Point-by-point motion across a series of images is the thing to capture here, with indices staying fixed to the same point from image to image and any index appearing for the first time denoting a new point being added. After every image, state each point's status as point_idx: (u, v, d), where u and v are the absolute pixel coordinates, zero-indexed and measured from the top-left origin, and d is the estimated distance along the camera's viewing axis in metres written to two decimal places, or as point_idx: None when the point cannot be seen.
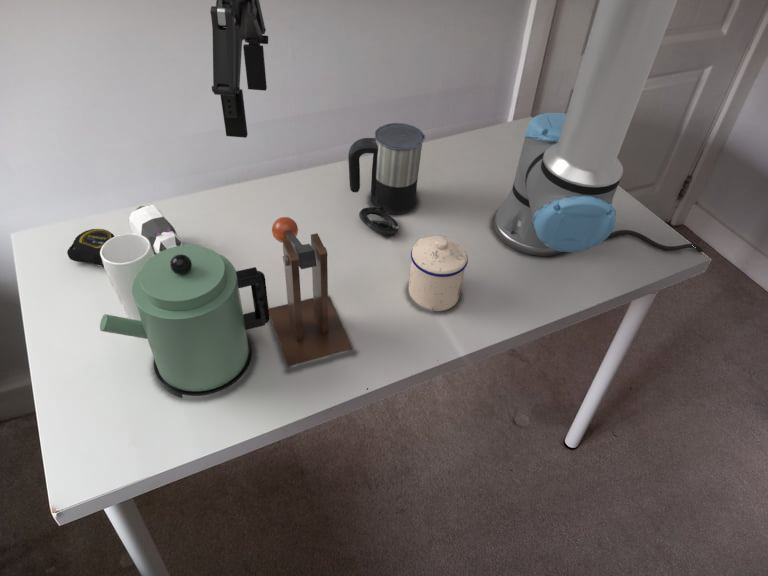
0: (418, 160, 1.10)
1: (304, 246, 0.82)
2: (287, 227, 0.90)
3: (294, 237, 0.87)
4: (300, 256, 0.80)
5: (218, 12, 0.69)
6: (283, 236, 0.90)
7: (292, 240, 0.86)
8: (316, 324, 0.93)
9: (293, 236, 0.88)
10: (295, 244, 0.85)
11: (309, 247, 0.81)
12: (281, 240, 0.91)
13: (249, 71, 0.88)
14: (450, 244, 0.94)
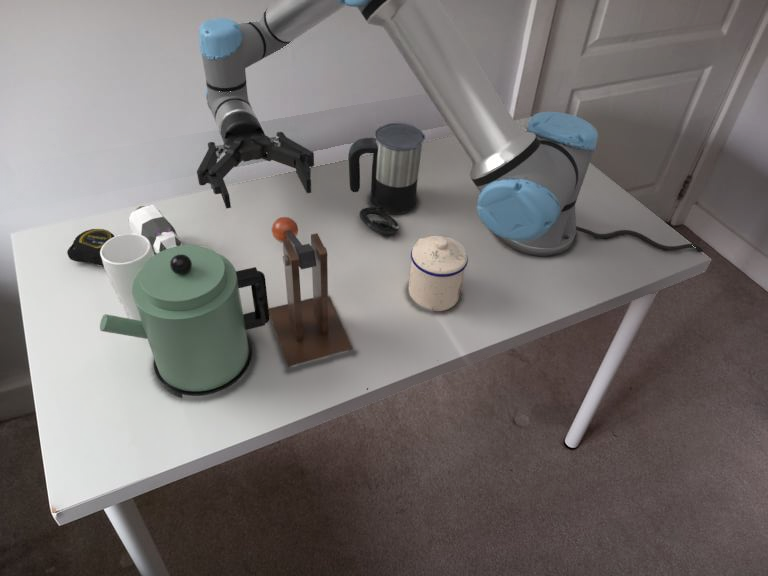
0: (418, 160, 1.10)
1: (304, 246, 0.82)
2: (287, 227, 0.90)
3: (294, 237, 0.87)
4: (300, 256, 0.80)
5: None
6: (283, 236, 0.90)
7: (292, 240, 0.86)
8: (316, 324, 0.93)
9: (293, 236, 0.88)
10: (295, 244, 0.85)
11: (309, 247, 0.81)
12: (281, 240, 0.91)
13: (302, 181, 1.02)
14: (450, 244, 0.94)
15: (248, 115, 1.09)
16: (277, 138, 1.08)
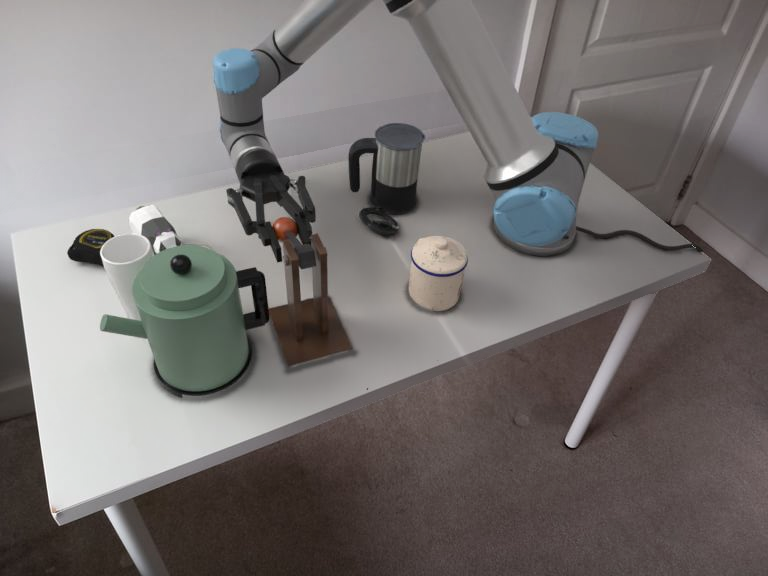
0: (418, 160, 1.10)
1: (304, 246, 0.82)
2: (287, 227, 0.90)
3: (294, 237, 0.87)
4: (300, 256, 0.80)
5: None
6: (283, 236, 0.90)
7: (292, 240, 0.86)
8: (316, 324, 0.93)
9: (293, 236, 0.88)
10: (295, 244, 0.85)
11: (309, 247, 0.81)
12: (281, 240, 0.91)
13: (302, 241, 0.91)
14: (450, 244, 0.94)
15: (266, 153, 1.01)
16: (295, 182, 0.99)
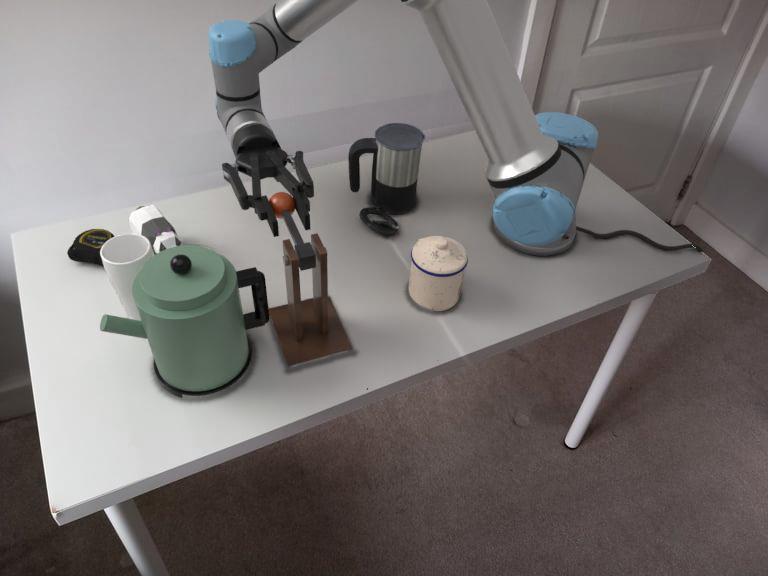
0: (418, 160, 1.10)
1: (305, 246, 0.81)
2: (285, 207, 0.88)
3: (293, 223, 0.86)
4: (301, 260, 0.80)
5: (223, 174, 0.94)
6: (280, 215, 0.88)
7: (291, 229, 0.85)
8: (316, 324, 0.93)
9: (292, 221, 0.86)
10: (294, 236, 0.84)
11: (310, 249, 0.81)
12: (278, 217, 0.89)
13: (299, 216, 0.89)
14: (450, 244, 0.94)
15: (263, 127, 0.98)
16: (293, 157, 0.97)
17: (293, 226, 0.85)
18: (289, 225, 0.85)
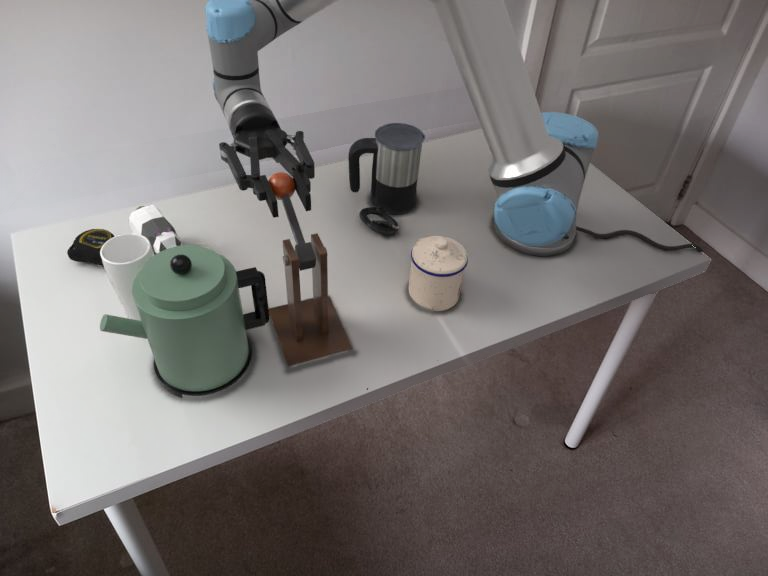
0: (418, 160, 1.10)
1: (306, 247, 0.81)
2: (285, 192, 0.85)
3: (293, 214, 0.84)
4: (301, 263, 0.80)
5: None
6: (280, 198, 0.86)
7: (291, 221, 0.83)
8: (316, 324, 0.93)
9: (292, 211, 0.84)
10: (295, 231, 0.83)
11: (311, 251, 0.81)
12: None
13: (300, 196, 0.85)
14: (450, 244, 0.94)
15: (262, 107, 0.95)
16: (293, 137, 0.93)
17: (293, 217, 0.84)
18: (289, 216, 0.84)
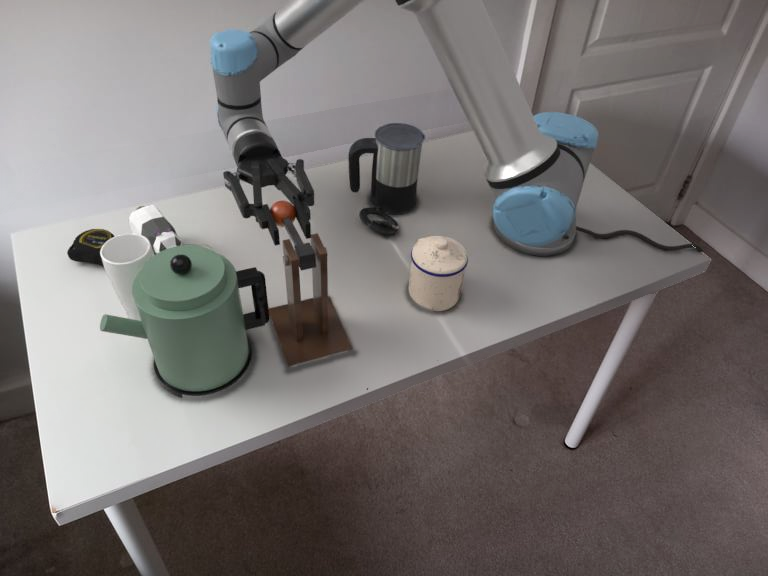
0: (418, 160, 1.10)
1: (304, 246, 0.82)
2: (285, 213, 0.89)
3: (293, 228, 0.86)
4: (301, 259, 0.80)
5: None
6: (281, 222, 0.89)
7: (291, 232, 0.85)
8: (316, 324, 0.93)
9: (292, 226, 0.87)
10: (295, 239, 0.84)
11: (310, 248, 0.81)
12: (279, 225, 0.90)
13: (300, 224, 0.90)
14: (450, 244, 0.94)
15: (264, 136, 0.99)
16: (293, 165, 0.98)
17: (293, 230, 0.86)
18: (289, 229, 0.86)
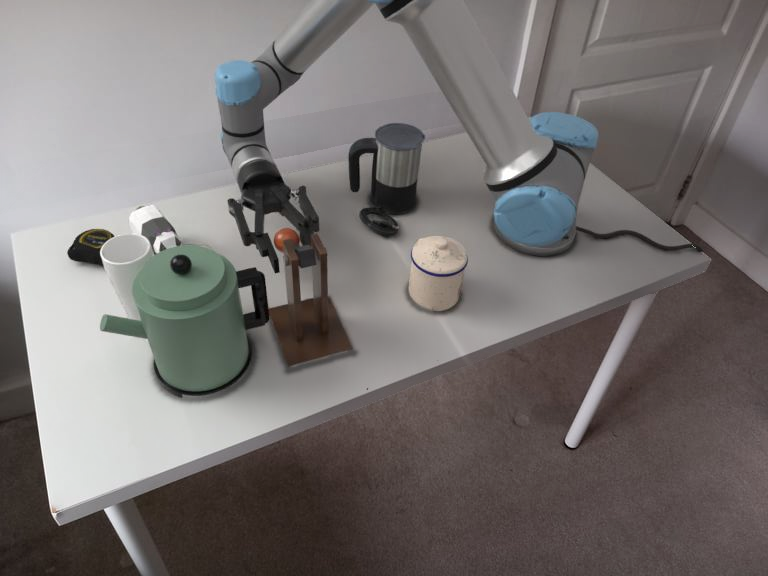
0: (418, 160, 1.10)
1: (304, 246, 0.82)
2: (288, 236, 0.91)
3: (295, 243, 0.88)
4: (300, 254, 0.80)
5: None
6: None
7: (293, 245, 0.87)
8: (316, 324, 0.93)
9: (294, 243, 0.88)
10: None
11: (309, 247, 0.81)
12: None
13: None
14: (450, 244, 0.94)
15: (267, 164, 1.02)
16: (296, 192, 1.01)
17: (295, 244, 0.87)
18: None
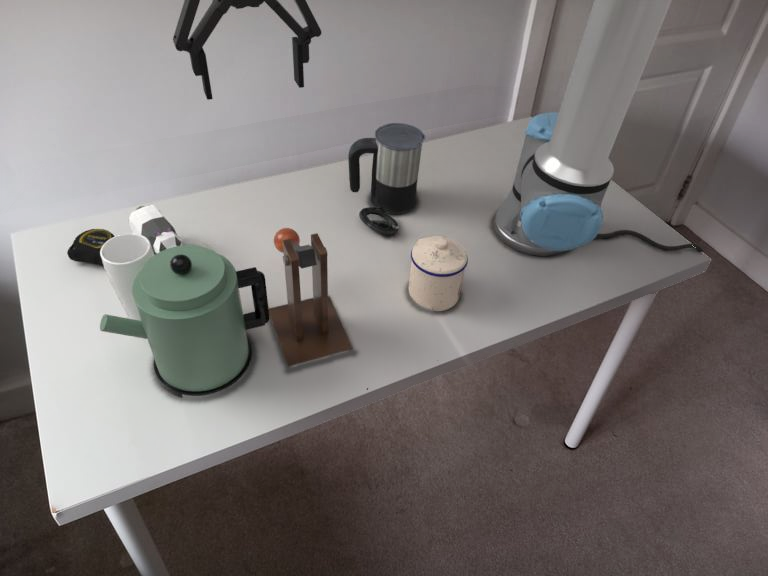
0: (418, 160, 1.10)
1: (304, 246, 0.82)
2: (288, 236, 0.91)
3: (295, 243, 0.88)
4: (300, 254, 0.80)
5: None
6: None
7: (293, 245, 0.87)
8: (316, 324, 0.93)
9: (294, 243, 0.88)
10: None
11: (309, 247, 0.81)
12: None
13: (294, 63, 0.89)
14: (450, 244, 0.94)
15: None
16: None
17: (295, 244, 0.87)
18: None
